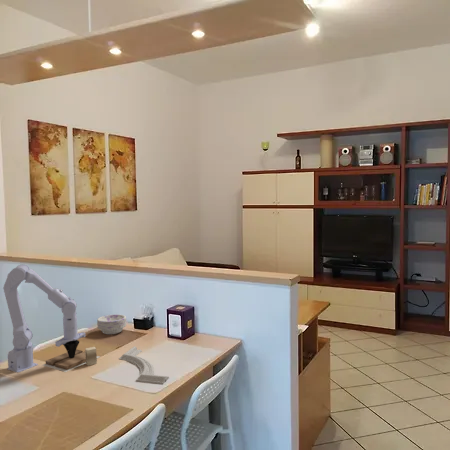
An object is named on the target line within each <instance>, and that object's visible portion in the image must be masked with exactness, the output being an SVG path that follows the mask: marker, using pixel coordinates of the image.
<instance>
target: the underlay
mask: <svg viewBox="0 0 450 450" xmlns="http://www.w3.org/2000/svg"><path fill="white" fill-rule="evenodd" d="M97 359H100V356H99V355H97ZM85 364H86V362H84V363H82V364H79V365H77V366H75V367H72V368H70V369H68V370H66V369H62V368H58V367H55V366H51V365H47V364H46V363H43V364H42V366H43V367H46V368H50V369H54V370H58V371H61V372H64V373H67V372H70V371H72V370H74V369H76V368H78V367H81V366H83V365H85Z"/></svg>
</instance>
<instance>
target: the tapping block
mask: <svg viewBox="0 0 450 450" xmlns="http://www.w3.org/2000/svg"><path fill="white" fill-rule="evenodd" d="M84 352H85V355H86V363H85V364H86V365H87V366H92V365H97V364H98V361H97V359H98V358H97V356H98V354H97V348H96V347H95V346H90V347H85V349H84ZM96 354H97V355H96Z"/></svg>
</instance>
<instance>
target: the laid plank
mask: <svg viewBox="0 0 450 450" xmlns="http://www.w3.org/2000/svg"><path fill="white" fill-rule="evenodd" d="M82 352H84V351H83V350H80V349H76V352H75V355H77V354H80V353H82ZM67 358H69V355H68V352H67V351H66V352H64V353H62V354H59V355H57V356H54V357H52V358H49V359H46V360H45V364H47V365H51V366H55V363H57V362H60V361H62V360H65V359H67Z"/></svg>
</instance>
